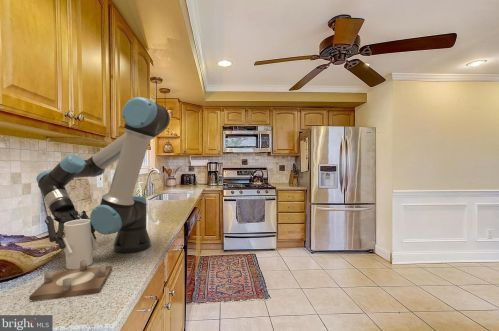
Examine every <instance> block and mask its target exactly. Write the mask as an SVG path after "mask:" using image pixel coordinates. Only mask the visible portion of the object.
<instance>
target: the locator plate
mask: <svg viewBox="0 0 499 331" xmlns="http://www.w3.org/2000/svg"><path fill="white" fill-rule="evenodd" d="M112 271H113V266H112V265H100V266H95V267H88V266H87V260H82V261H80V268H79V269H67V270H58V271H54V273H53V271H52V270H47V271H45V272H44V274H43V277H44V280H43V281H44V282H43V283H42V284H41V285H40V286H39V287H37V288H36V289H35V290H34V291H33V292H32V293H31V294H30V295H29V298H28V299H29V301H30V300H40V301H43V300H42V299H48V300H53V299H52V298H55V299H61V297H63V298H69V297H77V296H79V297H80V296H85V295H86V296H87V295H95V294H99V293H101V291H102V289H103V286H104V285H105V283H106V282H107V279H108V278H109V276H110V274H111V273H112ZM110 272H111V273H110ZM50 298H51V299H50Z"/></svg>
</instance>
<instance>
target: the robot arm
mask: <svg viewBox="0 0 499 331" xmlns="http://www.w3.org/2000/svg"><path fill="white" fill-rule="evenodd" d="M121 111H122V112H121V114H122V118H123V121H124V127H123V130H124V131H125V132H124V133H123V134H122V135H120V136H119V137H117V138H116V139H115V140H114V141H111V142H110V143H109V144H108V145H106V146H105V147H103V148H102V149H100V150H99V151H98V152H96V153H95V154H94V155H91V157H89V158H87V159H83V158H82V156H80V155H76V153H75V154H74V153H71V154H67V156H65V157H64V158H63V159H61V160H60V161H59V162H58V163H57V165H56V166H55V167H54V168H53V169H48V170H47V169H46V170H43V171H42V172H39V173H38V174H37V176H36V181H37V186H38V188H39V190H40V192H41V194H42V195H43V198H44V200H45V203H46V205H47V206H48V208H49V211H50V213H51V215H47V216H46V217H45V220H44V223H45V224H46V227H47V233H48V239H49V242H50V243H55V244H58V246H59V249H60V250H63V251H64V254H65V257H66V256H67V257H70V255H71V254H72V253H73V252H72V250H71V248H70V246H69V244H68V242H67V240H66V238H65V237H64V223H66V222H69V221H73V220H79V219H89V220H90V222H91V239H92V251H95V250H96V249H97V248H98V246H99V244H98V242H97V241H96V239H97V237H96V235H95V232H97V233H99V234H101V235H105V236H106V235H107V236H108V235H112V234H116V237H115V240H114V242H113V251H114V252H115V253H120V254H123V253H124V254H127V253H128V254H130V253H131V254H132V253H137V252H141V251H143V250H144V251H145V250H147V249H148V248H150V247H151V238H150V236H149V233H148V230H147V205H148V204H147V199H146V197H145V196H133V194H134V191H135V188H136V185H137V181H138V179H139V176H140V172H141V169H142V165H143V163H144V160H145V156H146V153H147V149H148V146H149V144H150V141H151V140H153V139H155V138H156V137H157V136H159V135H160V134H161V133H164V131H166V130H167V129H168V127H169V125H170V121H171V120H170V119H171V116H170V113H169V111H168V109H166V108H165V107H164V106H163V105H161V104H159V103H158V102H156V101H153V100H152V99H150V98H146V97H143V96H135V97H132V98H131V99H129V100H128V101H126V102H125V103H124V105H123V108H122V110H121ZM116 162H117V163H116ZM114 163H116V167H115V170H114V173H113V176H112V180H111V182H110V186H109V189H108V192H107V193H104V194H103V195H102V197H101V200H100V204H98V205H97V206H95V207H93V209H92V210H91V212H90V214H89V215H90V216H88V215H87V211H86V210H82V211H77V209H76V208H75V204H74V203H73V201H72V199H71V196H70V195H69V193H68V191H67V188H66V186H67V185H68V184H70V182H71V181H72V180H73V179H76V178H90V177H92V178H94V177H95V178H96V177H99V176H101V175H103V174H104V172H105V171H106V169H107V168H108V167H110V166H111V165H112V164H114ZM55 221H56V222H57V223H58V224H57V225H58V226H57V227H58V228H57V233H56V228H55V227H56V226H55Z"/></svg>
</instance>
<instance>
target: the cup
mask: <svg viewBox="0 0 499 331" xmlns="http://www.w3.org/2000/svg"><path fill="white" fill-rule="evenodd" d="M63 237H64V238H66V240H67V242H68V244H69V246H70V248H71V250H72V252H73V253H72V254H71V255H70V257H67V256H66V255H65V266H66V269H67V270H75V269H80V261H82V260H87V267H88V266H90V265H92V264H93V262H94V261H93V259H94V258H93V249H92V239H91V222H90V220H89V219H81V218H80V219H79V220H73V221H69V222H66V223H64V231H63Z"/></svg>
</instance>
